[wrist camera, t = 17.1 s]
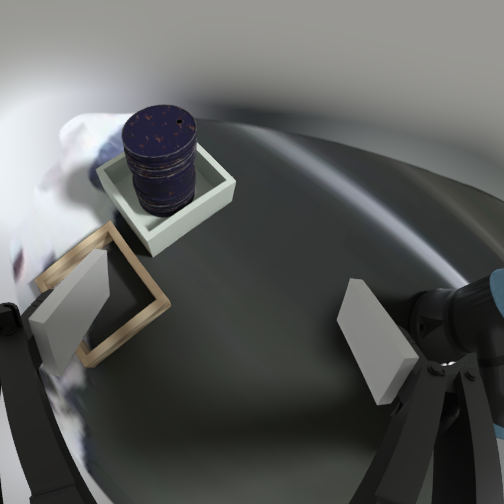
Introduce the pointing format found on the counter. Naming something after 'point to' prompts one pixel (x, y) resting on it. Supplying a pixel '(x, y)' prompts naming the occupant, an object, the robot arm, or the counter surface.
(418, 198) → the counter surface
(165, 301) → the oak collar
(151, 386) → the counter surface
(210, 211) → the sage bin
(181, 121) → the navy cylindrical canister
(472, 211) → the counter surface
